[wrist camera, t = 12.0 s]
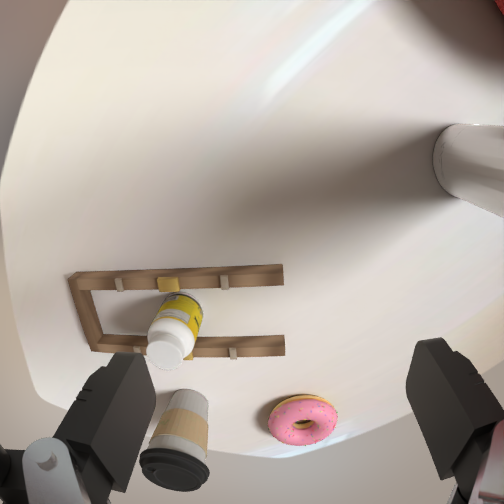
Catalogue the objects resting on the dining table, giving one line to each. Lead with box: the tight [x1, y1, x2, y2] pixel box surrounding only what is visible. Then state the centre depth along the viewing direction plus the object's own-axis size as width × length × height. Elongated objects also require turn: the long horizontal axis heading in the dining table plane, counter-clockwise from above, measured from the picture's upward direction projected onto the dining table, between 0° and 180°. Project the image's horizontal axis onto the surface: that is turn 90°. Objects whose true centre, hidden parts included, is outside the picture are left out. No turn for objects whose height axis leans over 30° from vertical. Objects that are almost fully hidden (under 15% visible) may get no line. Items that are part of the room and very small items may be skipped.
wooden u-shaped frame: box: [68, 264, 285, 360], centre depth 39 cm, size 28×12×3 cm, turn 94°
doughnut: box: [268, 395, 338, 446], centre depth 45 cm, size 11×11×4 cm
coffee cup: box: [139, 389, 210, 492], centre depth 40 cm, size 9×9×15 cm
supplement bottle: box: [146, 292, 203, 370], centre depth 36 cm, size 5×5×10 cm
